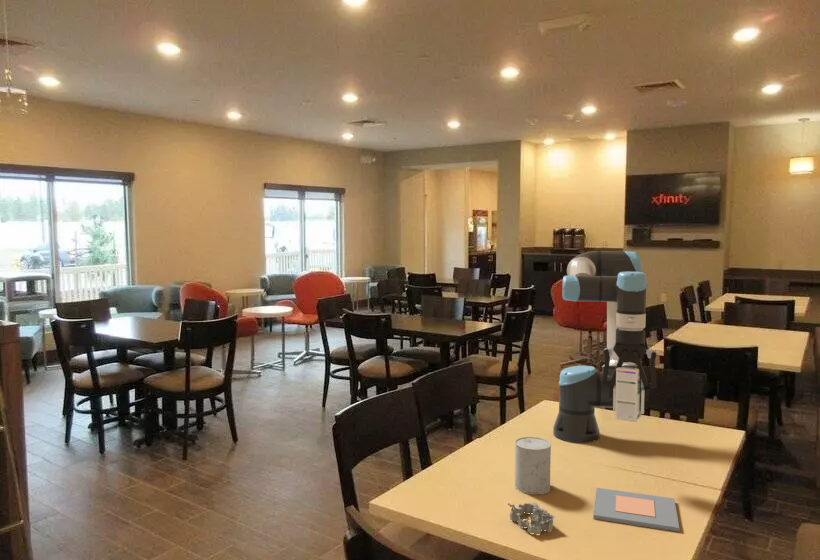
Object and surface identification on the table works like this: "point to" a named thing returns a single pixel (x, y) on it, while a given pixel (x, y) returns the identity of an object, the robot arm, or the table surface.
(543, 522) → the grey irregular lumpy piece
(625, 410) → the syrup box
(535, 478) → the grey marbled cylinder
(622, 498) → the board
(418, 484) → the table surface
